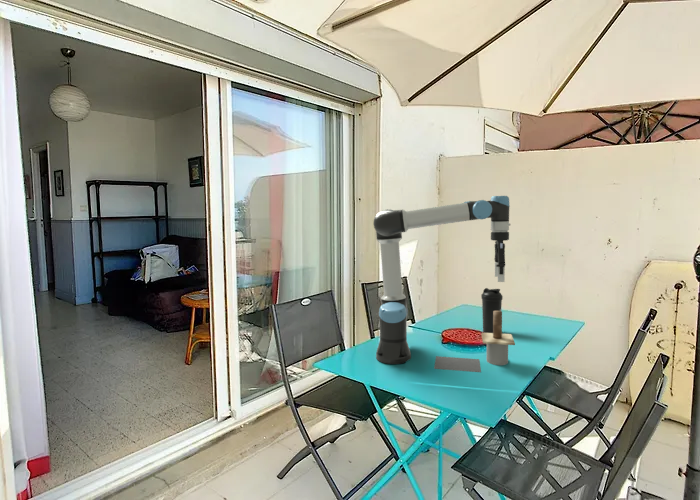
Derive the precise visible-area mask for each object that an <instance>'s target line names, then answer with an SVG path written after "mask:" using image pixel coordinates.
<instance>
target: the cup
mask: <svg viewBox="0 0 700 500" xmlns="http://www.w3.org/2000/svg"><path fill="white" fill-rule="evenodd" d="M486 362H487V363H488V364H491V365H495V366H505V365H508V364H509V345H503V344H486Z"/></svg>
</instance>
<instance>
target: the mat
mask: <svg viewBox="0 0 700 500" xmlns="http://www.w3.org/2000/svg"><path fill="white" fill-rule="evenodd" d="M434 360H435V361H434V367H433V369H435V370H445V371H446V370H447V371H458V372H472V373H482V368H481V367H482V366H481V362H480V359H479V358H467V357H453V356H452V357H451V356H439V355H438V356H437V355H436V356H435V359H434Z"/></svg>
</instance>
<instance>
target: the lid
mask: <svg viewBox="0 0 700 500" xmlns="http://www.w3.org/2000/svg"><path fill="white" fill-rule="evenodd" d="M481 341H482V344H485V345H487V344H503V345H508V346H515V345H516V342H515V340H514V337H513V334H511V333H503V311H502V310H501V311H493V333H483V332H481Z"/></svg>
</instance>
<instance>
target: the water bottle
mask: <svg viewBox="0 0 700 500" xmlns="http://www.w3.org/2000/svg"><path fill="white" fill-rule="evenodd" d="M500 291H501V289H500V288H492V289H491V288H488V287H486V288H484V289H483V292H482V294H481V303H482V304H481V309H482V311H481V312H482V333H483V332H484V333H493V311H502V305H503V303H502V302H503V301H502V300H503V299H504V298H503V297H504V296H503V294H502V293H501V292H500Z"/></svg>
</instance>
